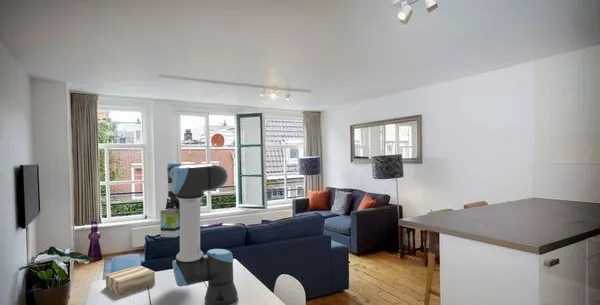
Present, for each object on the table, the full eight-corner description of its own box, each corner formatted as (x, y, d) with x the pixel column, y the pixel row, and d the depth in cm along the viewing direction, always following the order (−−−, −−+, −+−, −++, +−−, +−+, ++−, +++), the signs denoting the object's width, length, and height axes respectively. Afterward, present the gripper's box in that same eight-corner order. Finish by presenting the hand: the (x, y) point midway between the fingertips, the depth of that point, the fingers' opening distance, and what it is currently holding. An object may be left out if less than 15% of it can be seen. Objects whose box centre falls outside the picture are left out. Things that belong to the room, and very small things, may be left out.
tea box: (176, 237, 173) (175, 210, 173) (160, 237, 175) (159, 210, 175) (191, 231, 187) (190, 206, 188) (176, 231, 190) (175, 206, 190)
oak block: (155, 284, 174) (154, 271, 174) (119, 296, 160) (119, 282, 160) (140, 277, 185) (139, 265, 185) (105, 287, 172) (105, 274, 172)
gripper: (193, 190, 177) (194, 228, 177) (169, 188, 192) (170, 224, 192) (181, 191, 171) (182, 231, 171) (157, 190, 186) (158, 227, 186)
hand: (176, 228), depth 181 cm, fingers closed on tea box, 12 cm apart
